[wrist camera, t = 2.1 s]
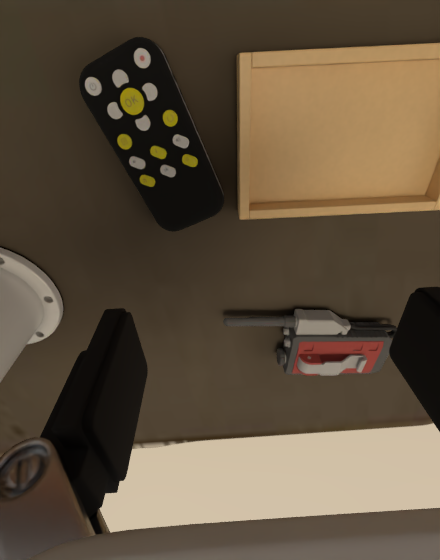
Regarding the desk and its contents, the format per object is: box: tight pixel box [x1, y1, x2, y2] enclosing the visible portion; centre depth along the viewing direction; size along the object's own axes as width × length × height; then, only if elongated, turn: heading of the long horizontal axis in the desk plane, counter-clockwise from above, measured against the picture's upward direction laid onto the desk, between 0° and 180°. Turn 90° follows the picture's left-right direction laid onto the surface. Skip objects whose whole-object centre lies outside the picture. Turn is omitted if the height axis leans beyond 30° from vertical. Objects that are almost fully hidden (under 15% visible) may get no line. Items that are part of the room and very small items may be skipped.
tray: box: [237, 43, 440, 220], centre depth 22 cm, size 17×11×2 cm, turn 92°
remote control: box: [79, 37, 224, 231], centre depth 22 cm, size 6×13×2 cm, turn 23°
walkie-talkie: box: [224, 309, 397, 375], centre depth 33 cm, size 9×4×20 cm
